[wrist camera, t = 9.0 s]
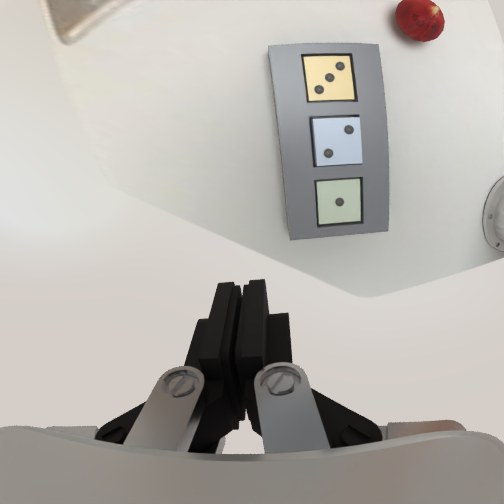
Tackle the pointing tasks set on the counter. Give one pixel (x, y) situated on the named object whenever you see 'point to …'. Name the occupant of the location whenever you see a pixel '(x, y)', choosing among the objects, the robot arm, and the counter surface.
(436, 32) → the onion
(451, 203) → the counter surface
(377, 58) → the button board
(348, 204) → the tile one
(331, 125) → the tile two
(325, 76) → the tile three
